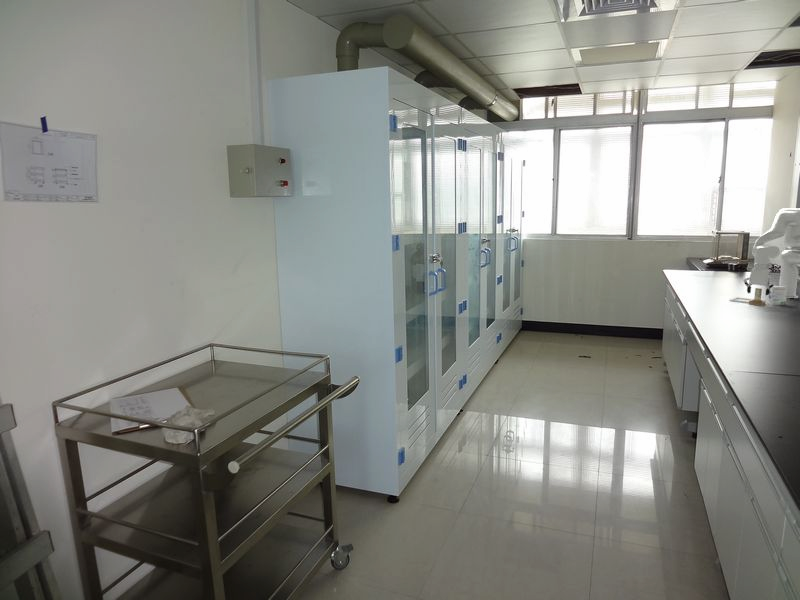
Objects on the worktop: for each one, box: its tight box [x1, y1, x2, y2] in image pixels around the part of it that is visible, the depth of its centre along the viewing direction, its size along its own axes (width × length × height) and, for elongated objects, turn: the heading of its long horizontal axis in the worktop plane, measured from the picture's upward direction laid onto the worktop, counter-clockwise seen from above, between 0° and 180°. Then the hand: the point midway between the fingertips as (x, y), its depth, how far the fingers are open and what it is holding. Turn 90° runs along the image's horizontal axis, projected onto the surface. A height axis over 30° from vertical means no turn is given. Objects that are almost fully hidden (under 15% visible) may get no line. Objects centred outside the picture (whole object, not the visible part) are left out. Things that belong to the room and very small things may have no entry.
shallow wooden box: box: [748, 298, 767, 307], centre depth 338 cm, size 7×7×3 cm
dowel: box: [753, 287, 763, 302], centre depth 337 cm, size 3×3×10 cm
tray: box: [729, 296, 753, 304], centre depth 349 cm, size 12×11×2 cm
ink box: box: [766, 285, 788, 306], centre depth 337 cm, size 9×5×12 cm, turn 84°
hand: (757, 294), depth 337 cm, fingers open, 9 cm apart
